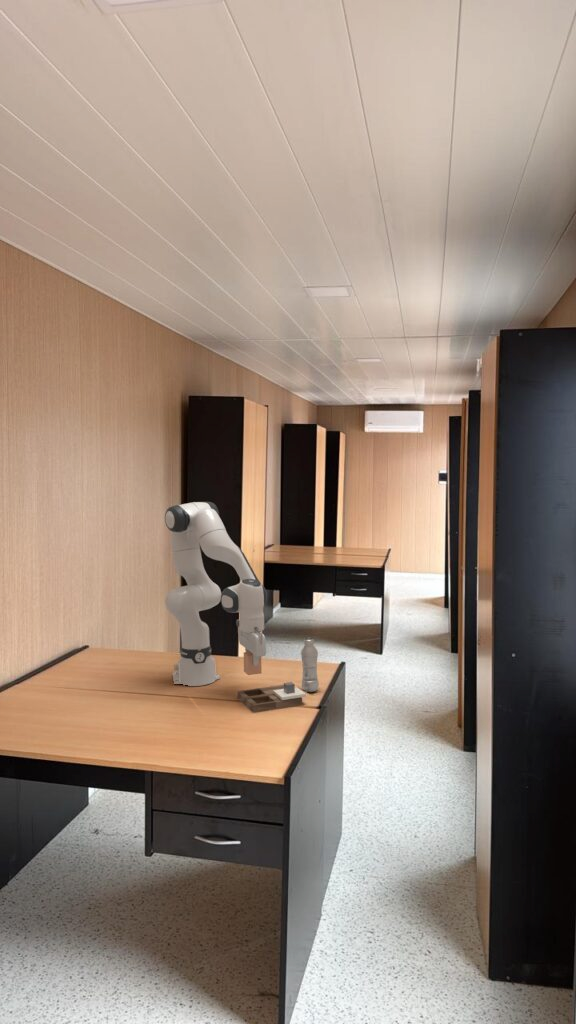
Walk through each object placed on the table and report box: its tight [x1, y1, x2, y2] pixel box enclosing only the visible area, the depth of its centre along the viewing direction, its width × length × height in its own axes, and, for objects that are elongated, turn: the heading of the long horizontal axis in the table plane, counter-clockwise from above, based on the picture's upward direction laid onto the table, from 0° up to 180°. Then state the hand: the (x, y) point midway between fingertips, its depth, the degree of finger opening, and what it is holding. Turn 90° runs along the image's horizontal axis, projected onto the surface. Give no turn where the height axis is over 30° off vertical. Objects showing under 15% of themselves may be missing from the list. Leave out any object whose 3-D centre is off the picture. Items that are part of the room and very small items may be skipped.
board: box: [236, 684, 303, 713], centre depth 267 cm, size 18×18×4 cm
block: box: [243, 651, 262, 676], centre depth 269 cm, size 5×5×7 cm
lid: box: [273, 681, 307, 700], centre depth 265 cm, size 9×9×4 cm
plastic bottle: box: [300, 637, 320, 693], centre depth 280 cm, size 6×7×20 cm
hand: (252, 662), depth 269 cm, fingers closed on block, 5 cm apart
